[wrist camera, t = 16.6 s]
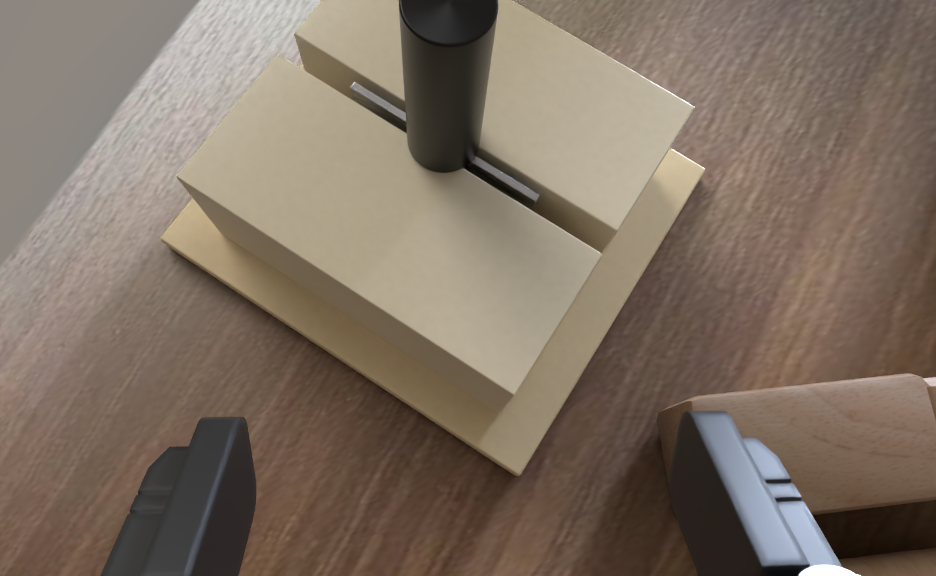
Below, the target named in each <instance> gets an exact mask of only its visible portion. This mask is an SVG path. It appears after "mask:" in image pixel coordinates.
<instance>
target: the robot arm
mask: <svg viewBox="0 0 936 576" xmlns="http://www.w3.org/2000/svg"><path fill="white" fill-rule="evenodd" d="M669 491H670V498H671V503H672V506H673V509H674V512H675V515H676V517H677V520H678V522H679V525H680V528H681V530H682V533H683V536H684V538H685V541H686V544H687V546H688V549H689V552H690V554H691V557H692V560H693V562H694V565H695V567H696V570H697V573H698V575H699V576H860V575H858V574H856V573H854V572H852V571H849V570H847V569H844V568H843V567H842V566H841V564H840V562H839V560H838V559H837V557H836V555H835V554H834V552H833V550H832V548H831V547H830V545H829V543H828V542H827V540H826V538H825V536H824V535H823V533H822V531H821V530H820V528H819V526H818V524H817V523H816V521H815V519H814V518H813V516H812V514H811V512H810V511H809V509H808V507H807V505H806V504H805V502H802V500H801V495H800V493H799V492H798V490H797V488H796V487H795V485H794V483H791V478H790V476H789V475H788V473H787V471H786V469H785V468H784V466H783V464H782V463H781V461H780V459H779V457H778V456H776V455H775V454H774V453H773V452H772V451H771V450H769V449H768V448H767V447H766V446H765V445H764V444H763V443H761V442H760V441H759V440H758V439H757V438H742V437H741V435H740V433H739V432H738V430H737V428H736V426H735V424H734V422H733V420H732V419H731V417H730V415H729V414H728V413H727V412H726V411H685V412H684V413H683V414H682V416H681V419H680V423H679V428H678V433H677V438H676V443H675V448H674V453H673V458H672V463H671V468H670V474H669ZM255 505H256V478H255V472H254V465H253V459H252V452H251V446H250V440H249V433H248V427H247V422H246V420H245V418H244V417H203V418H201V419H200V420H199V422H198V424H197V427H196V429H195V432H194V434H193V437H192V439H191V442H190V444H189V446H185V447H169V448H168V449H167V450H166V451H165V452H164V453H163V454H162V455H161V456H160V457H159V458H158V459H157V460H156V461H155V462H154V463H153V464H152V465H151V466H150V467H149V468H148V470H147V472H146V475H145V477H144V479H143V481H142V484H141V486H140V488H139V490H138V495H136V497H135V499H134V502H133V504H132V506H131V508H130V514H129V515H127V517H126V520H125V522H124V524H123V526H122V529H121V531H120V533H119V535H118V538H117V540H116V542H115V544H114V547H113V549H112V551H111V553H110V556H109V558H108V560H107V562H106V565H105V567H104V569H103V571H102V573H101V576H238V575H239V571H240V567H241V563H242V559H243V556H244V552H245V548H246V544H247V540H248V536H249V532H250V528H251V524H252V520H253V516H254V512H255Z"/></svg>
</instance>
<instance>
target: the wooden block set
mask: <svg viewBox="0 0 936 576" xmlns="http://www.w3.org/2000/svg"><path fill="white" fill-rule="evenodd" d="M685 411H726V412H727V413H728V414H729V415H730V417H731V419H732V420H733V422H734V424H735V426H736V428H737V430H738V432H739V433H740V435H741V437H742V438H757V439H758V440H759V441H760V442H761V443H763V444H764V445H765V446H766V447H767V448H768V449H769V450H771V451H772V452H773V453H774V454H775V455H776V456H778V457H779V459H780V461H781V463H782V464H783V466H784V468H785V469H786V471H787V473H788V475H789V476H790V478H791V483H794V485H795V487H796V488H797V490H798V492H799V493H800V495H801V500H802V502H805V504H806V505H807V507H808V509H809V511H810V512H811V514H812V515H816V514H825V513H833V512H841V511H849V510H858V509H866V508H874V507H882V506H891V505H899V504H907V503H915V502H924V501H932V500H936V377H932V378H922V377H921V376H916V375H913V374H909V373H907V374H898V375H889V376H880V377H870V378H861V379H852V380H842V381H833V382H824V383H814V384H805V385H796V386H786V387H777V388H768V389H758V390H749V391H740V392H731V393H721V394H712V395H703V396H695V397H693V398H690V399H688V400H685V401H683V402H680V403H678V404H675V405H673V406H670V407H668V408H665V409H664V410H662V411H660V412H659V414H658V419H657V423H658V429H659V434H660V440H661V446H662V451H663V457H664V463H665V469H666V474H667V480H668V486H669V474H670V468H671V463H672V458H673V453H674V448H675V443H676V438H677V433H678V428H679V423H680V419H681V416H682V414H683V413H684V412H685ZM669 492H670V491H669ZM672 509H673V506H672ZM673 513H674V515H675V512H674V509H673ZM675 517H676V515H675ZM676 518H677V517H676ZM838 560H839V562H840V564H841V566H842V567H843V568H844V569H847V570H849V571H852V572H854V573H856V574H858V575H860V576H936V547H933V548H925V549H917V550H909V551H902V552H894V553H886V554H878V555H870V556H862V557H854V558H846V559H838Z"/></svg>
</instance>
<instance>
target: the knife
mask: <svg viewBox="0 0 936 576" xmlns="http://www.w3.org/2000/svg"><path fill="white" fill-rule="evenodd" d="M497 14H498V0H399V18H400V33H401V49H402V65H403V81H404V96H405V112H406V113H405V112H403V111H402V110H400V109H398V108H397V107H395V106H393V105H392V104H390V103H388V102H387V101H385V100H384V99H382V98H380V97H379V96H377V95H375V94H374V93H372V92H371V91H369V90H367V89H366V88H364V87H362V86H361V85H359V84H357V83H356V82H354V83H353V84H352V86H351V87H350V89H351V94H352V100H353V101H355V102H356V103H358V104H359V105H361V106H363V107H364V108H366V109H368V110H369V111H371V112H372V113H374V114H376V115H377V116H379V117H381V118H382V119H384V120H385V121H387V122H389V123H390V124H392V125H394V126H395V127H397V128H398V129H400V130H402V131H403V132H405V133H407V142H408V147H409V151H410V153H411V155H412V156H413V158H414V159H415V160H416V161H417V162H418V163H419V164H420V165H421V166H423V167H424V168H426V169H428V170H431V171H434V172H440V173H448V172H454V171H457V170H460V169H462V168H463V169H465V170H467V171H468V172H470V173H471V174H473V175H475V176H476V177H478V178H480V179H481V180H483V181H484V182H486V183H488V184H489V185H491V186H493V187H494V188H496V189H497V190H499V191H501V192H502V193H504V194H506V195H507V196H509V197H510V198H512V199H514V200H515V201H517V202H519V203H520V204H522V205H523V206H525V207H527V208H528V209H530V210H532V211H533V212H534V210H535V207H536V204H537V201H538V199H539V194H537V193H535V192H534V191H532V190H530V189H529V188H527V187H526V186H524V185H522V184H521V183H519V182H517V181H516V180H514V179H513V178H511V177H509V176H508V175H506V174H504V173H503V172H501V171H499V170H498V169H496V168H495V167H493V166H491V165H490V164H488V163H486V162H485V161H483V160H482V159H480V158H478V157H477V156H476V154H477V151H478V148H479V144H480V136H481V129H482V122H483V115H484V108H485V101H486V93H487V86H488V79H489V72H490V65H491V58H492V50H493V43H494V36H495V29H496V22H497Z"/></svg>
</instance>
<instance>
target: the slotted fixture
mask: <svg viewBox="0 0 936 576" xmlns="http://www.w3.org/2000/svg"><path fill="white" fill-rule="evenodd" d="M294 35H295V38H296V42H297V45H298V49H299V52H300V56H301V59H302V62H303V63H302V64H301V65H300V67H298V66H296V65H295V64H293V63H291V62H290V61H288V60H286V59H285V58H283V57H282V56H280V55H278V54H277V55H276V56H275V57H274V58H273V60H272V61H271V62H270V63H269V64H268V66H267V67H266V68H265V69H264V70H263V72H262V73H261V74H260V75H259V76H258V78H257V79H256V80H255V81H254V82H253V84H252V85H251V86H250V87H249V89H248V90H247V91H246V92H245V93H244V95H243V96H242V97H241V98H240V99H239V101H238V102H237V103H236V104H235V105H234V107H233V108H232V109H231V110H230V111H229V113H228V114H227V115H226V116H225V118H224V119H223V120H222V121H221V122H220V124H219V125H218V126H217V127H216V128H215V130H214V131H213V132H212V133H211V134H210V136H209V137H208V138H207V139H206V140H205V142H204V143H203V144H202V145H201V147H200V148H199V149H198V150H197V151H196V153H195V154H194V155H193V156H192V157H191V159H190V160H189V161H188V162H187V163H186V165H185V166H184V167H183V168H182V169H181V171H180V172H179V173H178V174H177V176H176V177H177V178H178V180H179V181H180V182H181V183H182V185H183V186H184V187H185V188H186V190H187V191H188V192H189V194H190V195H191V196H192V197H193V198H192V199H191V201H190V202H189V203H188V204H187V205H186V207H185V208H184V209H183V210H182V212H181V213H180V214H179V215H178V217H177V218H176V219H175V220H174V221H173V223H172V224H171V225H170V226H169V228H168V229H167V230H166V231H165V233H164V234H163V235H162V236H161V238H160V239H161V240H162V241H163V242H164V243H165V244H166V245H167V246H168V247H169V248H171V249H172V250H174V251H175V252H177V253H179V254H180V255H182V256H183V257H185V258H186V259H188V260H189V261H191V262H192V263H194V264H195V265H197V266H198V267H200V268H201V269H203V270H204V271H206V272H207V273H209V274H210V275H212V276H213V277H215V278H216V279H218V280H219V281H221V282H222V283H224V284H225V285H227V286H228V287H230V288H232V289H233V290H235V291H236V292H238V293H239V294H241V295H242V296H244V297H245V298H247V299H248V300H250V301H251V302H253V303H254V304H256V305H257V306H259V307H260V308H262V309H263V310H265V311H266V312H268V313H269V314H271V315H272V316H274V317H275V318H277V319H278V320H280V321H281V322H283V323H284V324H286V325H288V326H289V327H291V328H292V329H294V330H295V331H297V332H298V333H300V334H301V335H303V336H304V337H306V338H307V339H309V340H310V341H312V342H313V343H315V344H316V345H318V346H319V347H321V348H322V349H324V350H325V351H327V352H328V353H330V354H331V355H333V356H334V357H336V358H337V359H339V360H341V361H342V362H344V363H345V364H347V365H348V366H350V367H351V368H353V369H354V370H356V371H357V372H359V373H360V374H362V375H363V376H365V377H366V378H368V379H369V380H371V381H372V382H374V383H375V384H377V385H378V386H380V387H381V388H383V389H384V390H386V391H387V392H389V393H390V394H392V395H394V396H395V397H397V398H398V399H400V400H401V401H403V402H404V403H406V404H407V405H409V406H410V407H412V408H413V409H415V410H416V411H418V412H419V413H421V414H422V415H424V416H425V417H427V418H428V419H430V420H431V421H433V422H434V423H436V424H437V425H439V426H440V427H442V428H443V429H445V430H446V431H448V432H450V433H451V434H453V435H454V436H456V437H457V438H459V439H460V440H462V441H463V442H465V443H466V444H468V445H469V446H471V447H472V448H474V449H475V450H477V451H478V452H480V453H481V454H483V455H484V456H486V457H487V458H489V459H490V460H492V461H493V462H495V463H496V464H498V465H499V466H501V467H503V468H504V469H506V470H507V471H509V472H510V473H512V474H513V475H515V476H520V475H521V474H522V472H523V470H524V469H525V467H526V465H527V464H528V462H529V460H530V459H531V457H532V455H533V454H534V452H535V451H536V449H537V447H538V446H539V444H540V442H541V441H542V439H543V437H544V436H545V434H546V432H547V431H548V429H549V427H550V426H551V424H552V423H553V421H554V419H555V418H556V416H557V414H558V413H559V411H560V409H561V408H562V406H563V404H564V403H565V401H566V399H567V398H568V396H569V395H570V393H571V391H572V390H573V388H574V386H575V385H576V383H577V381H578V380H579V378H580V376H581V375H582V373H583V371H584V370H585V368H586V366H587V365H588V363H589V362H590V360H591V358H592V357H593V355H594V353H595V352H596V350H597V348H598V347H599V345H600V343H601V342H602V340H603V338H604V337H605V335H606V334H607V332H608V330H609V329H610V327H611V325H612V324H613V322H614V320H615V319H616V317H617V315H618V314H619V312H620V310H621V309H622V307H623V306H624V304H625V302H626V301H627V299H628V297H629V296H630V294H631V292H632V291H633V289H634V287H635V286H636V284H637V282H638V281H639V279H640V278H641V276H642V274H643V273H644V271H645V269H646V268H647V266H648V264H649V263H650V261H651V259H652V258H653V256H654V254H655V253H656V251H657V249H658V248H659V246H660V245H661V243H662V241H663V240H664V238H665V236H666V235H667V233H668V231H669V230H670V228H671V226H672V225H673V223H674V221H675V220H676V218H677V217H678V215H679V213H680V212H681V210H682V208H683V207H684V205H685V203H686V202H687V200H688V198H689V197H690V195H691V193H692V192H693V190H694V189H695V187H696V185H697V184H698V182H699V180H700V179H701V177H702V175H703V174H704V172H705V168H703V167H702V166H700V165H698V164H697V163H695V162H693V161H692V160H690V159H688V158H686V157H685V156H683V155H681V154H680V153H678V152H676V151H675V150H673V149H671V148H670V147H671V146H672V144H673V142H674V141H675V139H676V138H677V136H678V134H679V133H680V131H681V130H682V128H683V126H684V125H685V123H686V122H687V120H688V119H689V117H690V115H691V114H692V112H693V111H694V109H695V107H694V106H692V105H691V104H689V103H687V102H686V101H684V100H682V99H680V98H679V97H677V96H675V95H674V94H672V93H670V92H668V91H667V90H665V89H663V88H662V87H660V86H658V85H656V84H655V83H653V82H651V81H650V80H648V79H646V78H645V77H643V76H641V75H639V74H638V73H636V72H634V71H633V70H631V69H629V68H627V67H626V66H624V65H622V64H621V63H619V62H617V61H615V60H614V59H612V58H610V57H609V56H607V55H605V54H603V53H602V52H600V51H598V50H597V49H595V48H593V47H591V46H590V45H588V44H586V43H585V42H583V41H581V40H579V39H578V38H576V37H574V36H573V35H571V34H569V33H567V32H566V31H564V30H562V29H561V28H559V27H557V26H555V25H554V24H552V23H550V22H549V21H547V20H545V19H543V18H542V17H540V16H538V15H537V14H535V13H533V12H531V11H530V10H528V9H526V8H525V7H523V6H521V5H520V4H518V3H516V2H514V1H513V0H498V14H497V22H496V29H495V36H494V43H493V50H492V58H491V65H490V72H489V79H488V86H487V93H486V101H485V108H484V115H483V122H482V129H481V136H480V144H479V148H478V151H477V154H476V156H477V157H478V158H480V159H482V160H483V161H485V162H486V163H488V164H490V165H491V166H493V167H495V168H496V169H498V170H499V171H501V172H503V173H504V174H506V175H508V176H509V177H511V178H513V179H514V180H516V181H517V182H519V183H521V184H522V185H524V186H526V187H527V188H529V189H530V190H532V191H534V192H535V193H537V194H539V199H538V201H537V204H536V207H535V210H534V212H533V211H532V210H530V209H528V208H527V207H525V206H523V205H522V204H520V203H519V202H517V201H515V200H514V199H512V198H510V197H509V196H507V195H506V194H504V193H502V192H501V191H499V190H497V189H496V188H494V187H493V186H491V185H489V184H488V183H486V182H484V181H483V180H481V179H480V178H478V177H476V176H475V175H473V174H471V173H470V172H468V171H467V170H465V169H463V168H462V169H460V170H457V171H454V172H448V173H440V172H434V171H431V170H428V169H426V168H424V167H423V166H421V165H420V164H419V163H418V162H417V161H416V160H415V159H414V158H413V156H412V155H411V153H410V151H409V147H408V142H407V133H405V132H403V131H402V130H400V129H398V128H397V127H395V126H394V125H392V124H390V123H389V122H387V121H385V120H384V119H382V118H381V117H379V116H377V115H376V114H374V113H372V112H371V111H369V110H368V109H366V108H364V107H363V106H361V105H359V104H358V103H356V102H355V101H353V100H352V94H351V89H350V87H351V86H352V84H353V83H354V82H356V83H357V84H359V85H361V86H362V87H364V88H366V89H367V90H369V91H371V92H372V93H374V94H375V95H377V96H379V97H380V98H382V99H384V100H385V101H387V102H388V103H390V104H392V105H393V106H395V107H397V108H398V109H400V110H402V111H403V112H405V96H404V81H403V65H402V49H401V33H400V18H399V0H321V2H320V3H319V4H318V5H317V7H316V8H315V9H314V10H313V11H312V13H311V14H310V15H309V16H308V17H307V19H306V20H305V21H304V22H303V23H302V25H301V26H300V27H299V28H298V29H297V31H296V32H295V34H294ZM405 113H406V112H405Z"/></svg>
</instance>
